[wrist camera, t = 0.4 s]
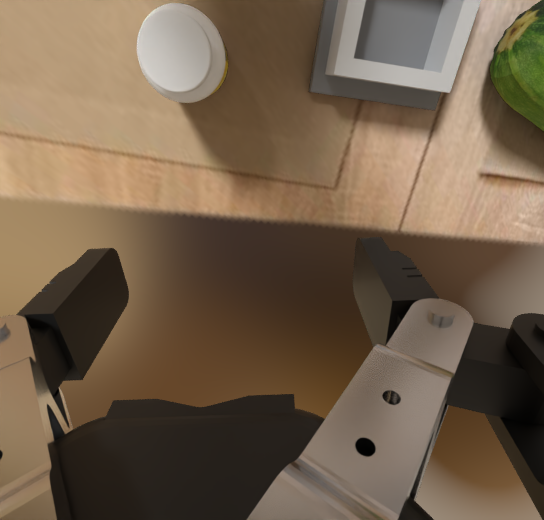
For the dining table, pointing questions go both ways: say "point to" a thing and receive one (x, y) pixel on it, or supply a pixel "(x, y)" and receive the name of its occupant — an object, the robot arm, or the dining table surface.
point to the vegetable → (522, 65)
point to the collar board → (391, 49)
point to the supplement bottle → (181, 53)
